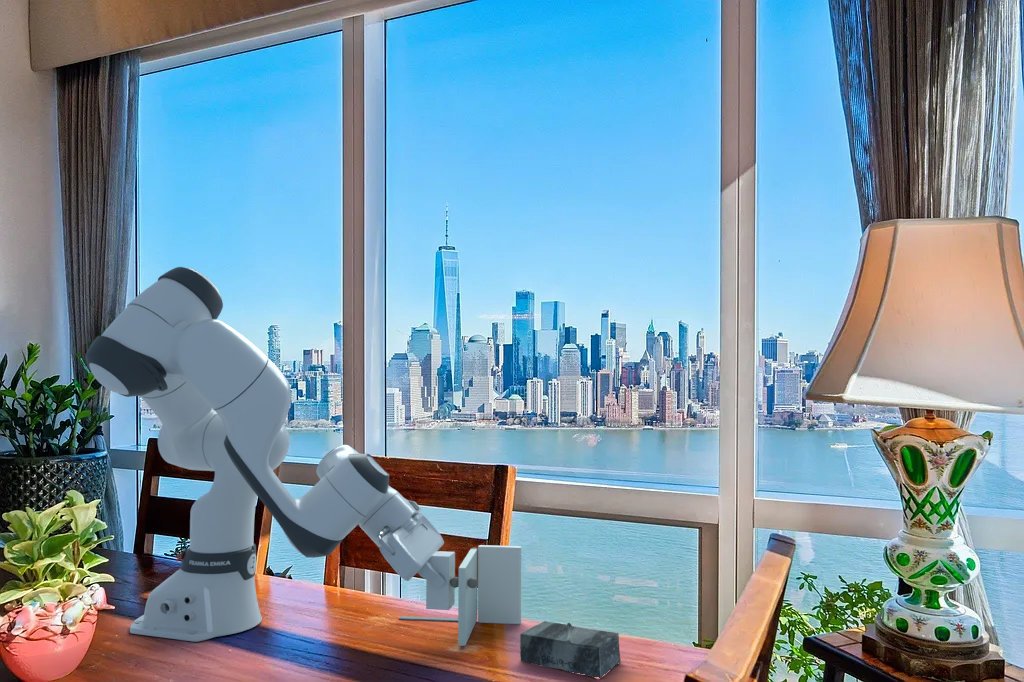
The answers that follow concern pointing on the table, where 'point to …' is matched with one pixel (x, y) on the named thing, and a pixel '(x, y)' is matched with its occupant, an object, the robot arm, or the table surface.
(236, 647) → the table surface
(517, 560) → the wall
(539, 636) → the stone block
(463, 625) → the door
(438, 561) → the light grey block
